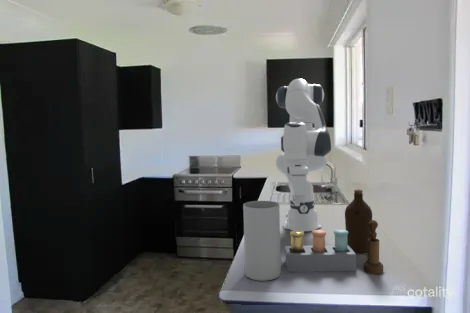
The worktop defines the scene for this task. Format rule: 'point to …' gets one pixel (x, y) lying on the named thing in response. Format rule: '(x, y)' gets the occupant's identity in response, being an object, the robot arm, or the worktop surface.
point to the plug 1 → (296, 241)
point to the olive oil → (358, 223)
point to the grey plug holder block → (320, 260)
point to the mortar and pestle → (373, 252)
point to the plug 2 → (318, 241)
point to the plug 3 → (340, 240)
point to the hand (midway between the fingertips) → (296, 204)
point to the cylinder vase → (262, 240)
